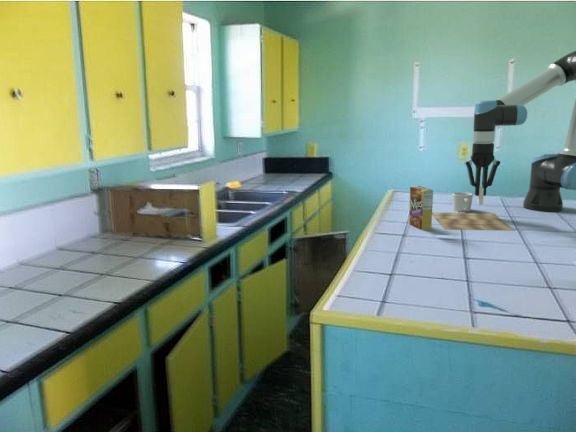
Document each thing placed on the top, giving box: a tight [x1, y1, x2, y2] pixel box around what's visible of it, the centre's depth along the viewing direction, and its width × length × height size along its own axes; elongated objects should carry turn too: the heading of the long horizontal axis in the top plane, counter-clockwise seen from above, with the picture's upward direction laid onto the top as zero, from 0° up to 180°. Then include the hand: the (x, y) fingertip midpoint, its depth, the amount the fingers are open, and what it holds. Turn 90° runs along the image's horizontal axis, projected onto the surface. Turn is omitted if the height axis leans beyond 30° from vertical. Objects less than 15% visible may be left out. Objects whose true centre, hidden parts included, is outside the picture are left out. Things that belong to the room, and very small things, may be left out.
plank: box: [432, 212, 502, 220], centre depth 194 cm, size 24×8×1 cm, turn 85°
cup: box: [451, 191, 474, 213], centre depth 204 cm, size 11×8×8 cm
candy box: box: [408, 185, 434, 231], centre depth 178 cm, size 9×4×15 cm, turn 17°
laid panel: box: [435, 219, 516, 232], centre depth 182 cm, size 24×16×1 cm, turn 85°
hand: (479, 203), depth 194 cm, fingers closed
